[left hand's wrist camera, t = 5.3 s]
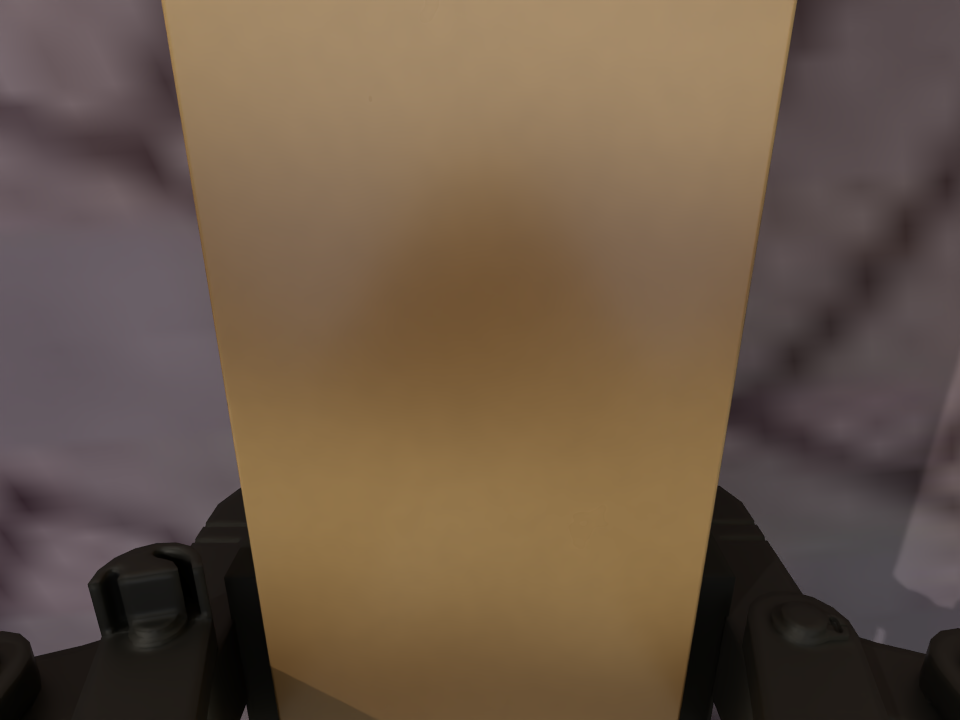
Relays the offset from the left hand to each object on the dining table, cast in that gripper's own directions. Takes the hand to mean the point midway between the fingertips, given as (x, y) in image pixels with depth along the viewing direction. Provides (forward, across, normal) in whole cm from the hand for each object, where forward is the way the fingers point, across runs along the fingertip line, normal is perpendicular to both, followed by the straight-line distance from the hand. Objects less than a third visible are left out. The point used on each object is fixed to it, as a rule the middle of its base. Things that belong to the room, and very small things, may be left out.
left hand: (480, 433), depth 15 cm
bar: (0, 0, -27) cm, 27 cm away
